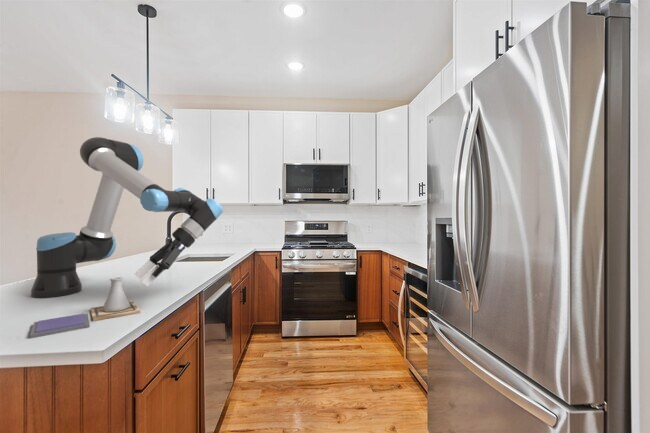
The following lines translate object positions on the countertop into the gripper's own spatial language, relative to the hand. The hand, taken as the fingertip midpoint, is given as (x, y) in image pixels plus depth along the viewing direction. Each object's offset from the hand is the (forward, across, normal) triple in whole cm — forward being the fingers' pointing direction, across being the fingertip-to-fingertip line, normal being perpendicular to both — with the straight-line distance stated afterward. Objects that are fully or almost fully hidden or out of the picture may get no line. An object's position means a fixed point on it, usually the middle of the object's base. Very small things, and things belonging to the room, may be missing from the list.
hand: (140, 280), depth 103 cm
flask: (+11, 0, -1) cm, 11 cm away
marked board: (+12, 0, -1) cm, 12 cm away
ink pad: (+21, -6, +8) cm, 23 cm away
